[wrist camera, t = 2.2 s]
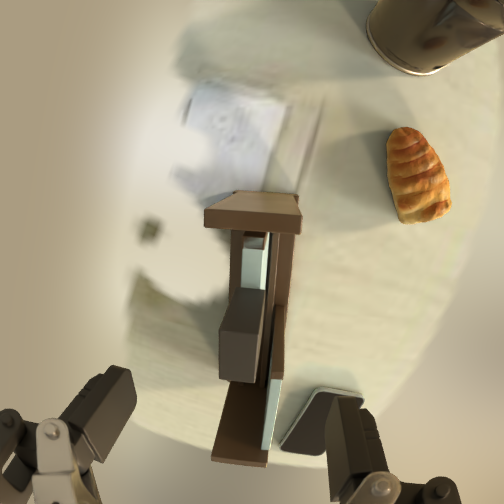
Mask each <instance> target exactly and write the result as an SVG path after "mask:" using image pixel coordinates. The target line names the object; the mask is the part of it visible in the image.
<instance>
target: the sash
mask: <svg viewBox="0 0 504 504" xmlns="http://www.w3.org/2000/svg"><path fill="white" fill-rule="evenodd" d="M269 233H270V232H259V231H246V230H245V232H244V234H243V235H242V269H241V287H236V288H235V290H234V293H233V295H232V298H231V300H230V303H229V305H228V308H227V310H226V313H225V316H224V318H223V321H222V323H221V326H220V328H219V379H223V380H230V381H239V382H247V383H255V380H256V373H257V366H258V359H259V352H260V345H261V337H262V329H263V317H264V305H265V293H266V290H265V286H266V274H267V261H268V247H269Z"/></svg>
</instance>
